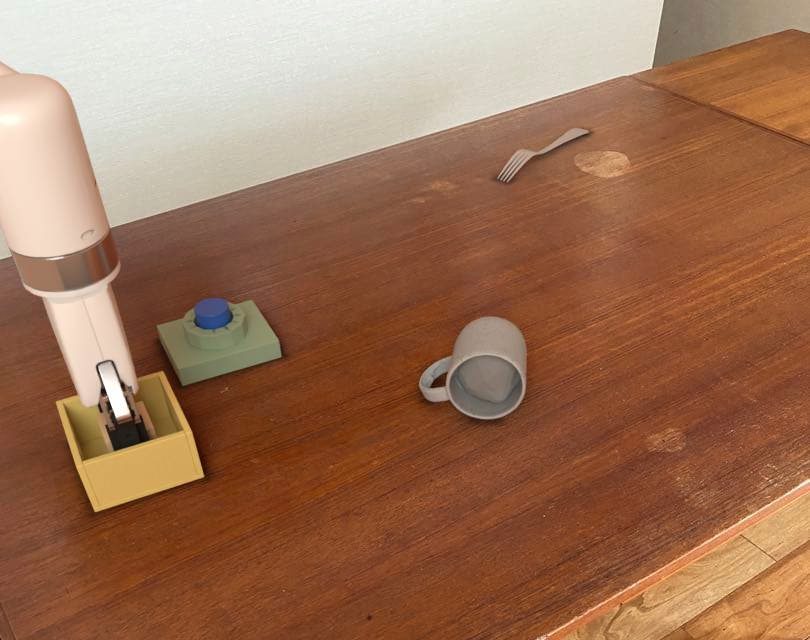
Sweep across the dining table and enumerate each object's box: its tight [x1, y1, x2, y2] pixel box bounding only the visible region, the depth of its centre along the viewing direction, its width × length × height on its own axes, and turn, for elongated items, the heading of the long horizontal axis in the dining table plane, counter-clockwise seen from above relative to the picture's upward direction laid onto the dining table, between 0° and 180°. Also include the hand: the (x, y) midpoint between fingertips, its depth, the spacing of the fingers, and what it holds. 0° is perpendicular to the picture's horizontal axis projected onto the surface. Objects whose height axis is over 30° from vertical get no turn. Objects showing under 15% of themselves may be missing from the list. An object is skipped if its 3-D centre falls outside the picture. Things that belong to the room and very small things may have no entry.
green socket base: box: [156, 299, 282, 387], centre depth 93 cm, size 11×9×4 cm
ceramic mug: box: [418, 315, 528, 420], centre depth 85 cm, size 11×8×8 cm
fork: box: [496, 127, 590, 183], centre depth 125 cm, size 3×21×3 cm, turn 139°
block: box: [96, 401, 157, 453], centre depth 80 cm, size 4×4×4 cm
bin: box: [55, 370, 205, 513], centre depth 80 cm, size 10×10×6 cm
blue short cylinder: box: [193, 297, 231, 330], centre depth 91 cm, size 4×4×2 cm
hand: (127, 434), depth 80 cm, fingers open, 5 cm apart
